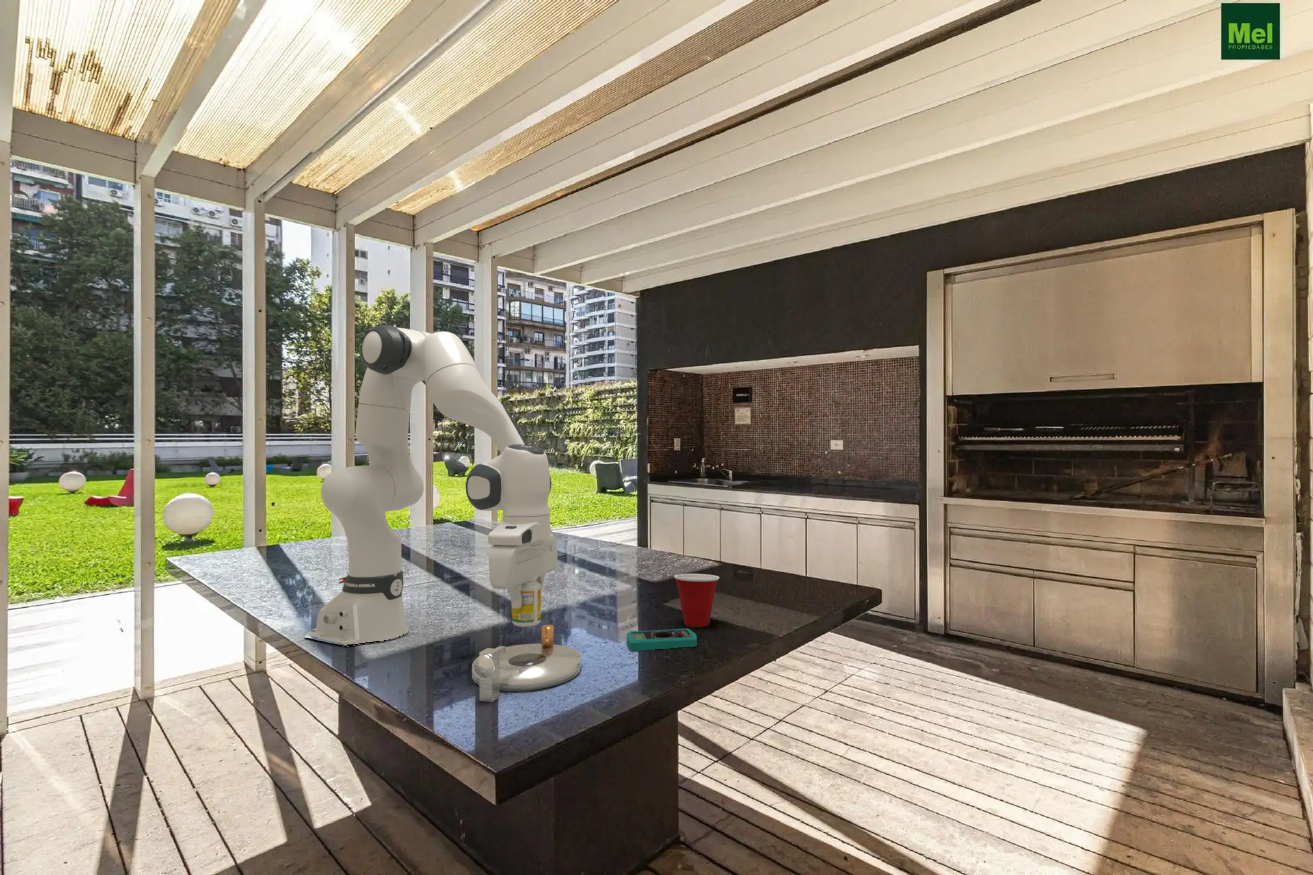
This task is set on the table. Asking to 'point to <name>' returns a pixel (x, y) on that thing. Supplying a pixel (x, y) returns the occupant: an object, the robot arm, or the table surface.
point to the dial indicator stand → (489, 672)
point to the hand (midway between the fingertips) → (526, 603)
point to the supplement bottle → (529, 604)
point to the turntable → (536, 664)
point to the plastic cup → (696, 597)
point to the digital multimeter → (660, 639)
